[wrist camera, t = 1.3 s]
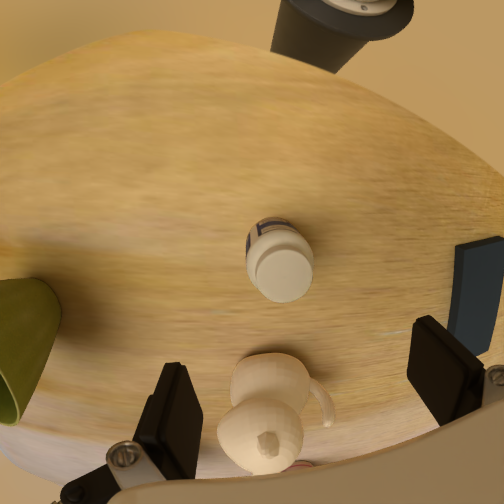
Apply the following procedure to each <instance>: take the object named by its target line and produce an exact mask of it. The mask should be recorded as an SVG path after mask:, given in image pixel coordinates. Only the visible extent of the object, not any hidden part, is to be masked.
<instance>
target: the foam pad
mask: <svg viewBox="0 0 504 504" xmlns="http://www.w3.org/2000/svg"><path fill="white" fill-rule="evenodd" d="M503 277H504V238H502V237H500V236H496V237H492V238H488V239H484V240H479V241H475V242H471V243H466V244H462V245H458V246H455V264H454V278H453V288H452V298H451V306H450V314H449V320H448V327H447V331H449V332H450V333H451V334H452V335H453V336H454V337H455V338H456V339H457V340H458V341H460V342H461V343H462V344H463V345H464V346H465V347H466V348H467V349H468V350H469V351H470V352H471V353H472V354H473V355H474V356H478V355H480V354H482V353H484V352H486V351H488V349H489V346H490V342H491V338H492V334H493V330H494V326H495V321H496V317H497V312H498V307H499V302H500V296H501V290H502V284H503Z"/></svg>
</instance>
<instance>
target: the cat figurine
mask: <svg viewBox="0 0 504 504" xmlns="http://www.w3.org/2000/svg"><path fill="white" fill-rule="evenodd" d="M309 391H310V392H311V393H312V394H314V396H315V397H316V398H317V400H318V401H319V403H320V405H321V408H322V423H323V425H324V426H325V427H330V426H331V425H332V424H333V423H334V420H335V406H334V403H333V401H332V399H331V397H330V395H329V394H328V392H327V391H326V389H325V388H324V387H323V386H322V385H321V384H320V383H319V382H317V381H316V380H314V379H312V378H310V377H309V373H308V371H307V370H306V368H305V366H304V365H303V363H302V362H301V361H299V360H298V359H297V358H295V357H293V356H290V355H287V354H283V353H266V354H258V355H253V356H249V357H246V358H244V359H243V360H241V361H240V362H239V363H238V364H237V366H236V367H235V369H234V371H233V374H232V378H231V384H230V396H231V402H232V405H233V408H232V409H230V410H229V411H228V412H227V413H226V414H225V415H224V417H223V418H222V419H221V421H220V422H219V424H218V427H217V436H218V440H219V443H220V445H221V447H222V448H223V450H224V451H225V453H226V454H227V456H228V457H230V458H231V459H232V460H233V461H234V462H235V463H236V464H237V465H238V466H240V467H241V468H243V469H245V470H247V471H249V472H252V476H256V475H265V474H273V473H278V472H281V471H283V470H285V469H287V468H288V467H289V466H291V465H292V464H293V462H294V461H295V460H296V459H297V457H298V455H299V453H300V451H301V448H302V444H303V437H304V433H303V425H302V422H301V419H300V417H299V414H300V413H301V411H302V409H303V407H304V406H305V404H306V402H307V399H308V394H309Z"/></svg>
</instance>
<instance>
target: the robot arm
mask: <svg viewBox="0 0 504 504" xmlns="http://www.w3.org/2000/svg"><path fill="white" fill-rule="evenodd" d="M321 1H323V2H325V3H326V4H328V5H330V6H332V7H334V8H336V9H338V10H341V11H343V12H346V13H350V14H354V15H359V16H377V15H382V14H384V13H386V12H388V11H389V10H390V9H391V8H392V7H393V6H394V5H395V3H396V1H397V0H321ZM483 367H484V364H483V363H482V362H481V361H480V360H479V359H478V358H477V357H476V356H474V355H473V354H472V353H471V352H470V351H469V350H468V349H467V348H466V347H465V346H464V345H463V344H462V343H461V342H460V341H458V340H457V339H456V338H455V337H454V336H453V335H452V334H451V333H450V332H449V331H447V330H446V329H445V328H444V327H443V326H442V325H441V324H440V323H438V322H437V321H436V320H435V319H434V318H433V317H432V316H430V315H426V316H423V317H420V318H417V319H416V322H415V323H413V327H412V337H411V345H410V353H409V360H408V367H407V378H408V380H409V381H410V383H411V384H412V386H413V387H414V389H415V390H416V391H417V393H418V394H419V396H420V397H421V399H422V400H423V402H424V403H425V405H426V406H427V408H428V409H429V410H430V412H431V413H432V415H433V416H434V418H435V419H436V421H437V422H438V424H439V426H440V427H439V428H437V429H434V430H432V431H430V432H427V433H425V434H422V435H420V436H417V437H415V438H412V439H410V440H407V441H404V442H402V443H399V444H396V445H393V446H390V447H387V448H384V449H381V450H378V451H375V452H371V453H368V454H365V455H361V456H357V457H354V458H350V459H346V460H342V461H338V462H334V463H330V464H325V465H320V466H315V467H310V468H305V469H299V470H294V471H287V472H281V473H273V474H265V475H256V476H245V477H232V478H215V479H195V475H196V467H197V460H198V453H199V445H200V438H201V431H202V424H203V412H202V409H201V407H200V404H199V401H198V399H197V396H196V393H195V391H194V388H193V385H192V383H191V380H190V377H189V374H188V371H187V368H186V366H185V365H181V364H180V362H173V363H165V365H164V367H163V370H162V372H161V375H160V378H159V380H158V383H157V386H156V388H155V391H154V394H153V395H150V396H149V397H148V399H147V402H146V404H145V407H144V410H143V412H142V415H141V418H140V421H139V423H138V426H137V429H136V431H135V434H134V437H133V440H132V441H122V442H119V443H116V444H115V445H113V446H112V447H111V448H110V449H109V450H108V452H107V454H106V462H107V464H105V465H103V466H101V467H99V468H97V469H95V470H94V471H92V472H90V473H88V474H85V475H83V476H81V477H79V478H77V479H75V480H73V481H71V482H69V483H67V484H66V485H65V486H64V487H63V488H62V490H61V494H60V499H61V500H60V501H59V502H58V503H57V502H56V501H54V502H52V504H504V365H494V366H491V367H489V368H488V369H487V370H485V369H484V368H483Z"/></svg>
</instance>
